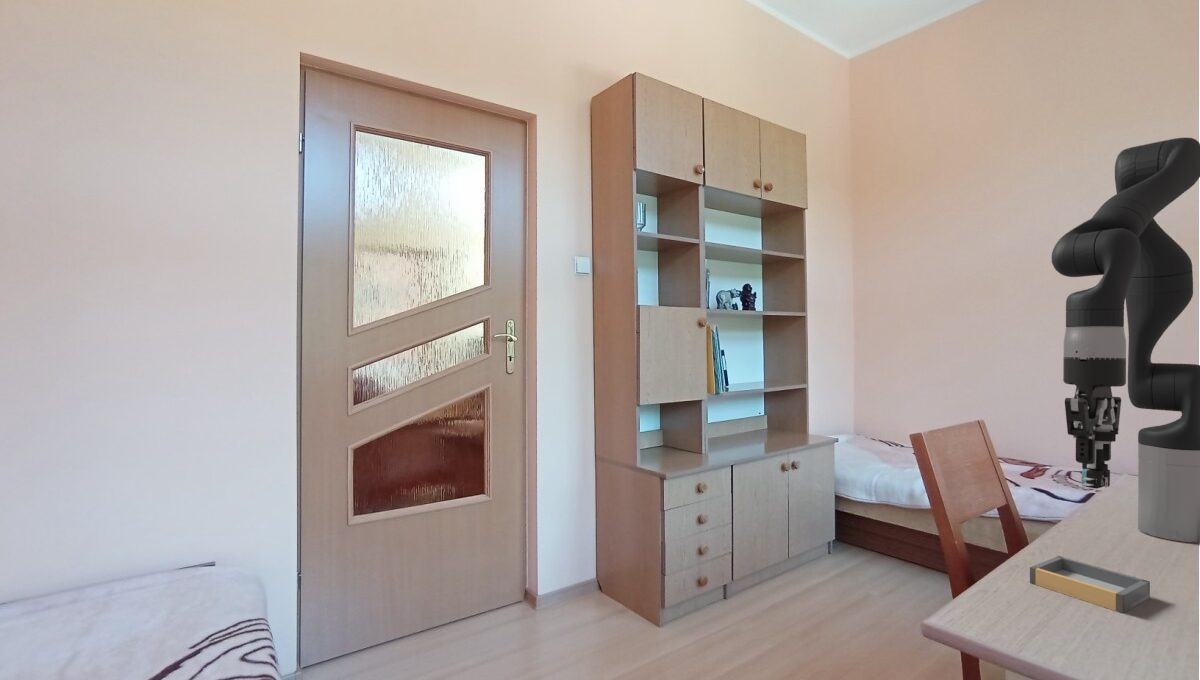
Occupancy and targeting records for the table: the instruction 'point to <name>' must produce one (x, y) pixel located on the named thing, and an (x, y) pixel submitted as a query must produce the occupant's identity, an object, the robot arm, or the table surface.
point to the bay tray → (1090, 583)
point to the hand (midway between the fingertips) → (1093, 461)
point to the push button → (1099, 460)
